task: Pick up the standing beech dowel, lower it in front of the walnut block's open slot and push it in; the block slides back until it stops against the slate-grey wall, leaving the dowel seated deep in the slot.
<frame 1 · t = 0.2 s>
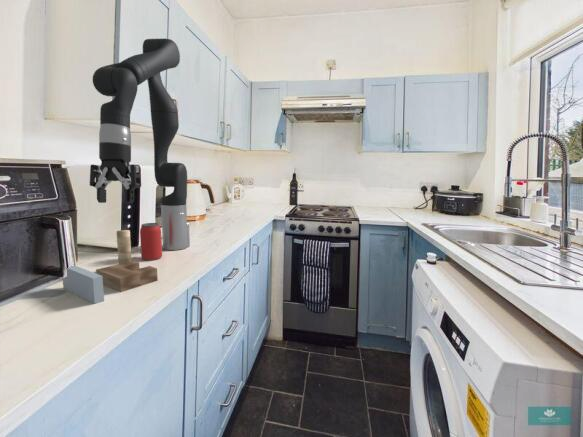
hand: (115, 203, 83), 21 cm above the table, tool pointing down, fingers open, 8 cm apart
beer can: (152, 258, 104), on the table
wall: (82, 294, 73), on the table
block: (127, 275, 82), point 2 cm above the table, slide at 0.0 cm
dowel: (125, 269, 92), on the table
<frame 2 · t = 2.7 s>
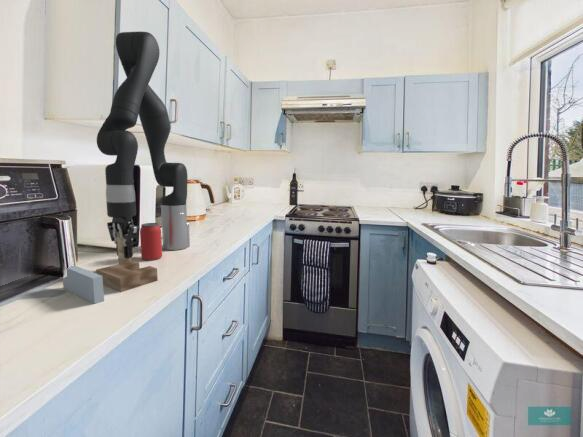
hand: (124, 256, 91), 4 cm above the table, tool pointing down, fingers closed on dowel, 3 cm apart
dowel: (125, 269, 92), on the table, touching gripper
everything else where it was.
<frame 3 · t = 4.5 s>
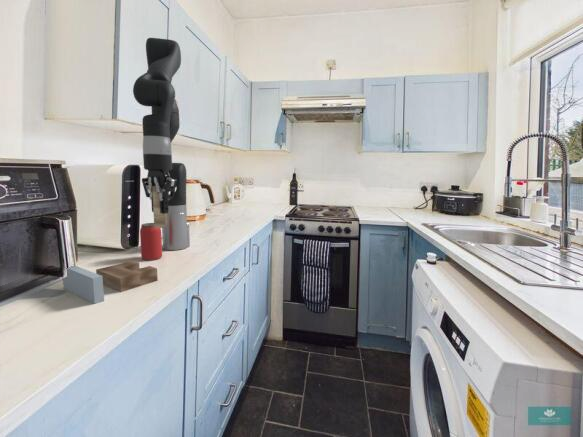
hand: (160, 212, 89), 18 cm above the table, tool pointing down, fingers closed on dowel, 3 cm apart
dowel: (160, 226, 89), point 14 cm above the table, touching gripper
everything else where it was.
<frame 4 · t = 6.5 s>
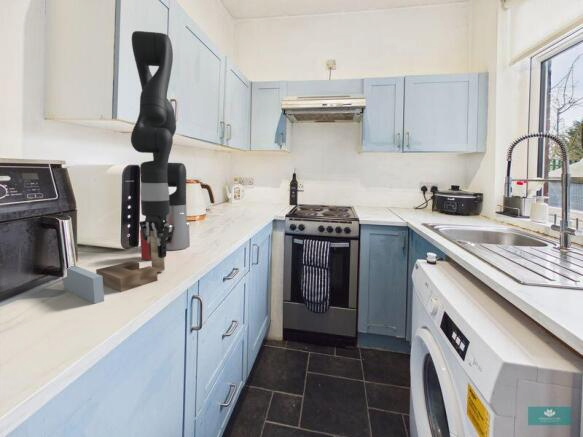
hand: (157, 256, 89), 5 cm above the table, tool pointing down, fingers closed on dowel, 3 cm apart
dowel: (158, 269, 90), point 1 cm above the table, touching gripper
everything else where it was.
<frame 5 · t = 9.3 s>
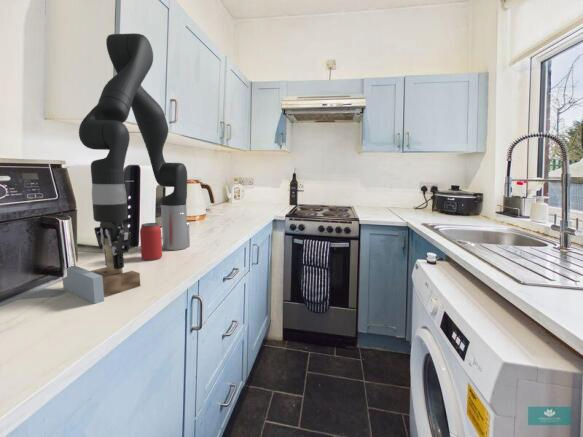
hand: (114, 266, 79), 5 cm above the table, tool pointing down, fingers closed on dowel, 3 cm apart
block: (108, 280, 78), point 2 cm above the table, slide at 5.0 cm, touching dowel, wall
dowel: (115, 282, 79), point 1 cm above the table, touching block, gripper
everything else where it was.
when the fingers open (5 cm above the table, at t = 10.3 s): dowel stays where it is, on the table.
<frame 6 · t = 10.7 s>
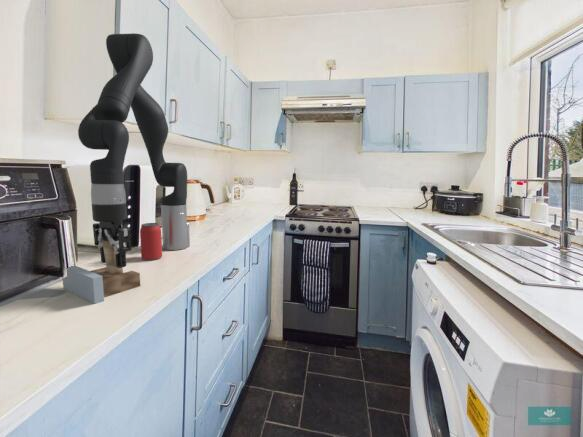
hand: (113, 264, 78), 6 cm above the table, tool pointing down, fingers open, 7 cm apart
block: (108, 280, 78), point 2 cm above the table, slide at 5.0 cm, touching wall
dowel: (117, 283, 80), on the table
everything else where it was.
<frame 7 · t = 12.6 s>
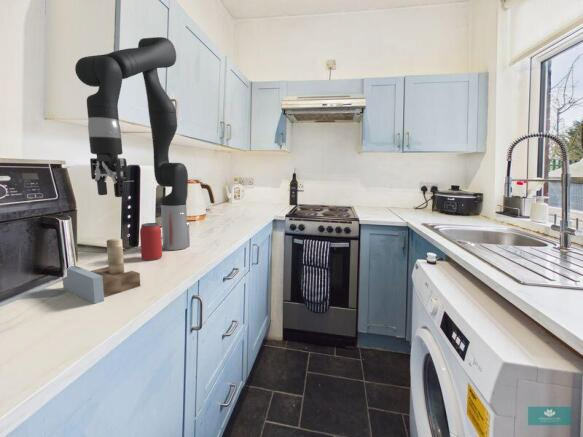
hand: (111, 195, 84), 23 cm above the table, tool pointing down, fingers open, 8 cm apart
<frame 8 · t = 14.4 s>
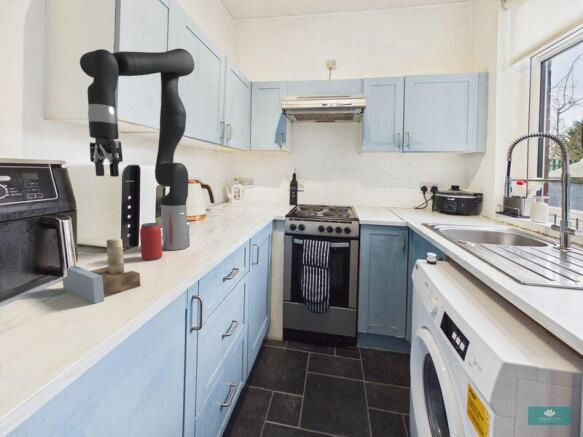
hand: (107, 176, 93), 28 cm above the table, tool pointing down, fingers open, 8 cm apart
nothing on the table moved.
at the end: block slide at 5.0 cm; dowel 0.3 cm from the target spot on the block, point 0.0 cm above the block's base; dowel tilted 0° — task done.
